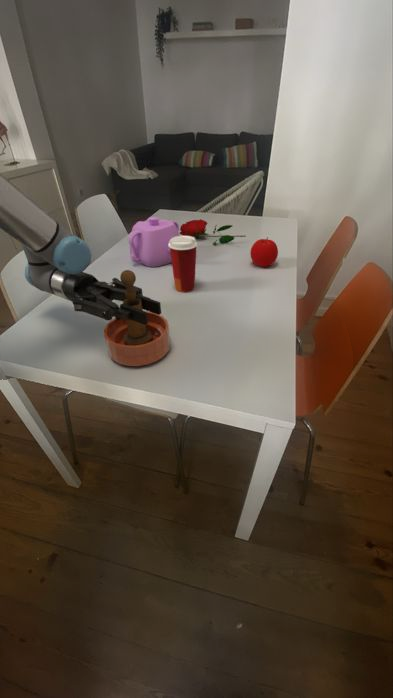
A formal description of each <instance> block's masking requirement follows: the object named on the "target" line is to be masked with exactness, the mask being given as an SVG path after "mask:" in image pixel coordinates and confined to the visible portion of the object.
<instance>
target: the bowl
mask: <svg viewBox="0 0 393 698" xmlns="http://www.w3.org/2000/svg"><path fill="white" fill-rule="evenodd" d="M144 311H145V312H146V314H147V321H148V323H147V324H146V325H145V328H146V329H148V330H150V331H151V333H152V337H153V341H151V342H149V343H146V344H141V345H135V346H132V345H125V343H124V335H125V334H126V333H127V332H128V327H127V322H126V319H124V318H122V317H121V319H120V320H116V318H115V317H113V318H112V319H111V320H109V322H108V323H106V325H105V327H104V329H103V337H104V340H105V344H106V348H107V353H108V356H109V357H110V358H111V360H113V361H114V362H116V363H117V364H120V365H123V366H127V367H141V366H146V365H150V364H153V363H155V362H157V361H159V360H161V359H162V358H163V357H165V356H166V354H167V353H168V352H169V350H170V348H171V347H170V346H171V338H170V326H169V322H168V320H167V318H165V317H164V316H163V315H161V314H160V315H158V314H155V313H152V312H149V311H147V310H144Z"/></svg>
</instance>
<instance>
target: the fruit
mask: <svg viewBox="0 0 393 698" xmlns="http://www.w3.org/2000/svg"><path fill="white" fill-rule="evenodd" d="M249 255H250V259H251V261H252V263H253V264H254V265H256V266H258V267H262V268H264V267H270V266H272V265H273V264H274V263H275V262H276V260H277V259H278V256H279V249H278V245H277V243H276V242H275V241H274V240H272V239H269V237H268V236H267V237H266V238H259V239H257V240H256V241H254V243H253V244H252V246H251V248H250V254H249Z"/></svg>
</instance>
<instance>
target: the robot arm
mask: <svg viewBox="0 0 393 698" xmlns="http://www.w3.org/2000/svg"><path fill="white" fill-rule="evenodd" d="M0 229H1V230H2V231H4V232H5V233H7V234H8V235H9V236H11V237H12V238H13V239H15V240H17V241H18V242H20V245H21V247H22V250H23V253H24V256H25V257H26V260H27V263H26V265H25V268H24V277H25V280H26V281H27V283H28V284H29V285H30V286H32V287H34V288H36V289H37V290H39V291H42V292H45V293H48V294H51V295H54V296H56V297H59V298H62V299H64V300H67V301H70V302H71V303H72V306H73V309H74V312H78V313H85V314H88V315H91V316H94V317H97V318H99V319H102V320H104V321H111V320H112V319H113V318H116V320H120V319H121V317H122V318H124V319H127V320H130V319H131V320H133V321H136V322H139V323H141V324H144V325H146V324H147V323H148V321H147V314H146V312H145V311H148V312H152V313H155V314H158V315H161V314H162V308H161V307H162V306H161V302H160V301H158V300H154V299H152V298H151V297H149V296H145V295H144V294H143V288H141V287H139V286H136V285H133V288H134V290H136V298H139V299H140V300H141V302H142V309H143V311H142V310H139V309H137V308H134V307H131V306H128V305H125V304H123V303H121V304H117V303H115V301H118V302H123V301H124V300H125V299H127V297H126V295H125V291H126V287H125V285H124V284H123V283H122V282H121V279H120V280H119V278H117V277H113V278H112V279H111V280H112V281H110V282H107V281H99V280H98V279H97V278H96V276H94V275H93V274H90V273H87V272H84V271H85V270H86V269H87V268H88V267H89V265H90V263H91V259H92V252H91V248H90V246H89V244H88V243H87V242H86V241H85V240H83V239H82V238H80V236H77V235H74V234H72V233H71V232H70V231H68V230H67V229H66V228H65V227H64V226H63V225H61V224H60V223H59V222H58V221H57V220H55V219H54V218H53V217H52V216H51V215H50V214H49V213H48V212H47V211H46V210H44V209H43V208H42V207H40V206H39V205H38V204H37V203H36V202H34V201H33V200H32V199H31V198H29V197H28V196H27V194H26V193H24V192H23V191H22V190H20V188H18V187H17V186H16V185H15V184H14V183H12V182H11V181H10V180H9V179H7V178H6V177H5V175H3V174H2V173H0Z"/></svg>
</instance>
